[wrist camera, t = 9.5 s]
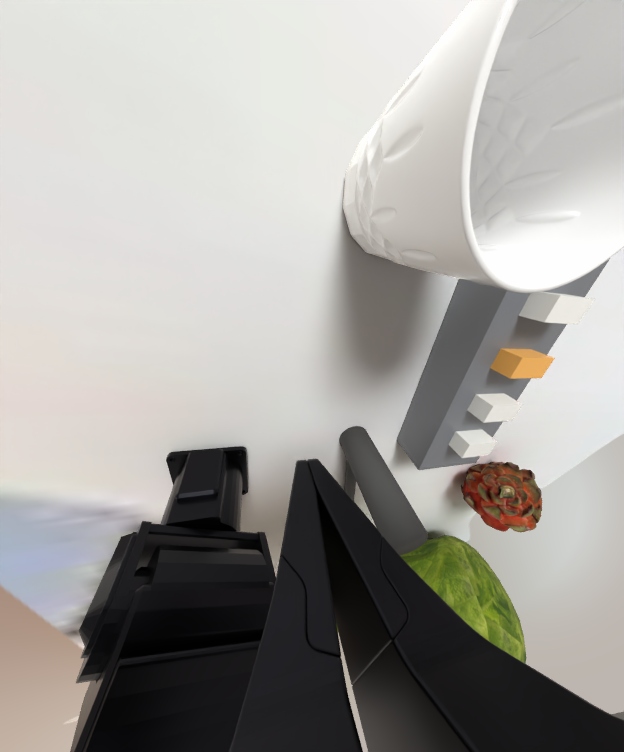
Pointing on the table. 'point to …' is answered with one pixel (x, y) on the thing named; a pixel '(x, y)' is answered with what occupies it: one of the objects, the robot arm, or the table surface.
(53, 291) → the table surface
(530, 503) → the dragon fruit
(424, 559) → the lettuce
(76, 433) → the table surface
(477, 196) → the white cup
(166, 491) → the table surface
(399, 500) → the post
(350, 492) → the dark grey thin rod
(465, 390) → the breaker strip
